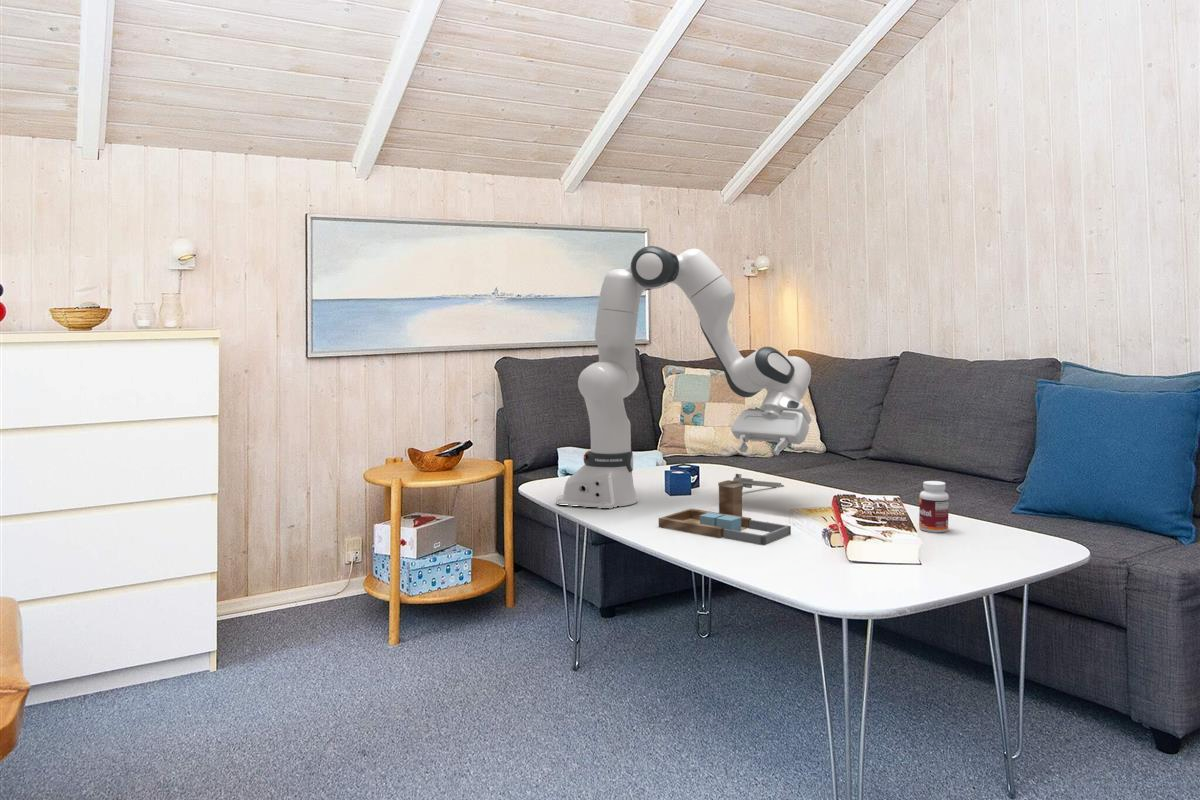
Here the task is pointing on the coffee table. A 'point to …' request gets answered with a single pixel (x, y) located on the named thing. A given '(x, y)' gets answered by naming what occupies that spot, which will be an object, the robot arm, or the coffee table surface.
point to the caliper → (754, 482)
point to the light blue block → (729, 522)
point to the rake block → (730, 497)
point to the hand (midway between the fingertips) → (757, 452)
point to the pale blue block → (709, 518)
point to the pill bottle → (934, 507)
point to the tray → (775, 534)
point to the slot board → (696, 523)
